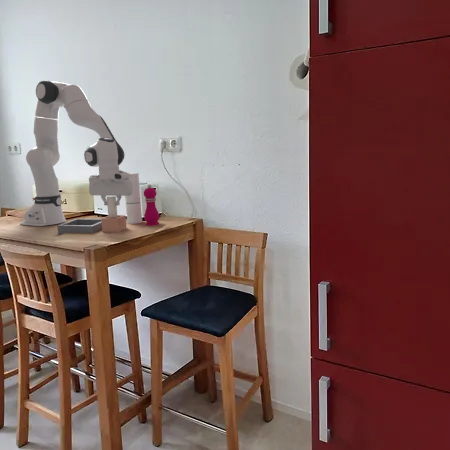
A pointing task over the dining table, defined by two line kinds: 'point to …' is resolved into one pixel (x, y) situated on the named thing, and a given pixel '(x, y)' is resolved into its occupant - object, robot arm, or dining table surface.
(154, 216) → the pepper mill
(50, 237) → the dining table surface
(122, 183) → the robot arm
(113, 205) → the dowel
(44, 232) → the dining table surface
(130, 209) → the cylindrical container
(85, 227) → the tray
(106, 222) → the pink block with hole
